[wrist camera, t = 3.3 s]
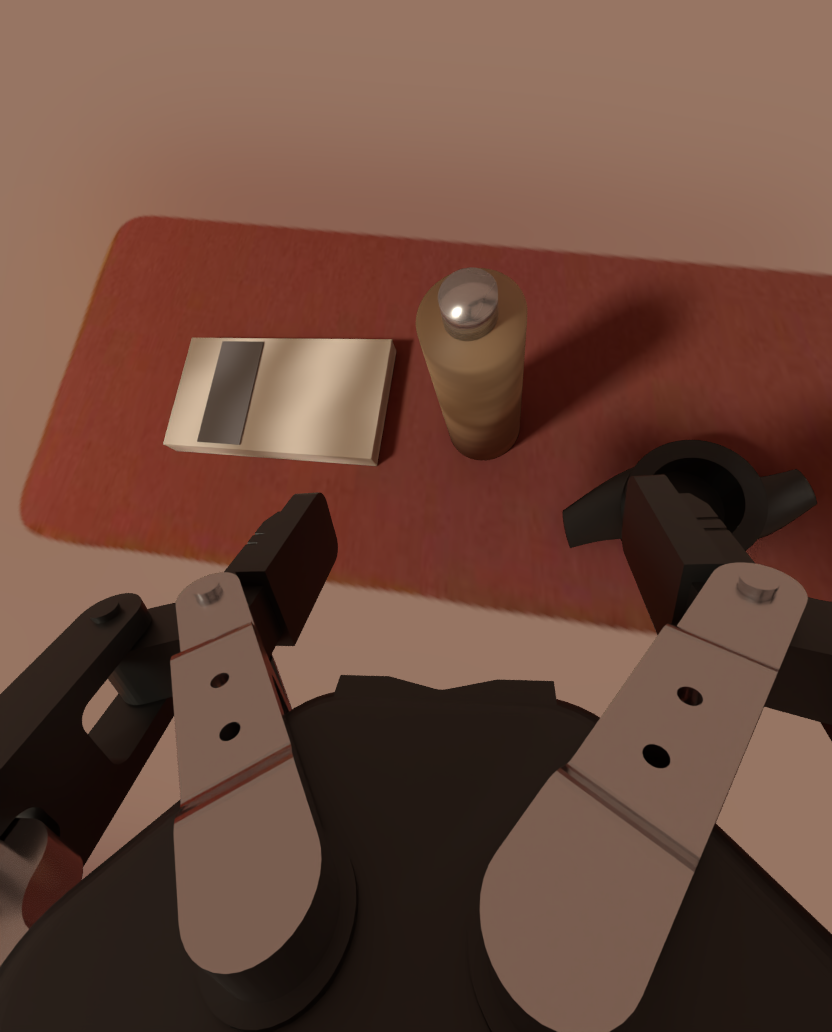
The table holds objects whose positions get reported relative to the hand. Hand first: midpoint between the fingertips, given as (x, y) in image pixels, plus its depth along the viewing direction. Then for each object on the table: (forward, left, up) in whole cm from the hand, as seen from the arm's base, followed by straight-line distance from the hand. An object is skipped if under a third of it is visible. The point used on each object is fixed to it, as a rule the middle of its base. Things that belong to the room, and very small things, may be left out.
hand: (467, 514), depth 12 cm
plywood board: (+14, -9, -12) cm, 21 cm away
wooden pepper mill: (+1, -8, -12) cm, 15 cm away
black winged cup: (-9, -4, -13) cm, 16 cm away
